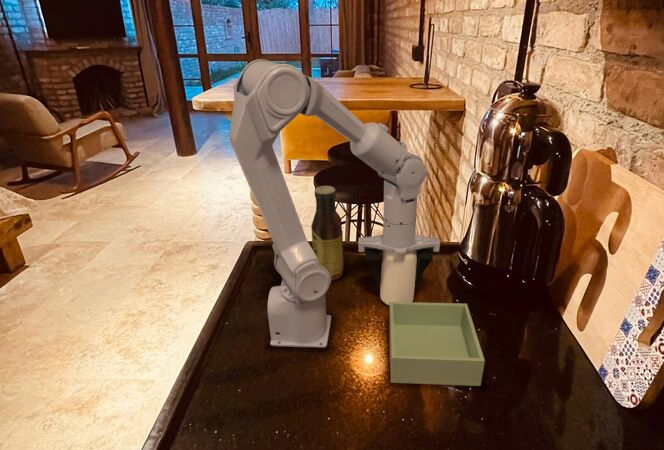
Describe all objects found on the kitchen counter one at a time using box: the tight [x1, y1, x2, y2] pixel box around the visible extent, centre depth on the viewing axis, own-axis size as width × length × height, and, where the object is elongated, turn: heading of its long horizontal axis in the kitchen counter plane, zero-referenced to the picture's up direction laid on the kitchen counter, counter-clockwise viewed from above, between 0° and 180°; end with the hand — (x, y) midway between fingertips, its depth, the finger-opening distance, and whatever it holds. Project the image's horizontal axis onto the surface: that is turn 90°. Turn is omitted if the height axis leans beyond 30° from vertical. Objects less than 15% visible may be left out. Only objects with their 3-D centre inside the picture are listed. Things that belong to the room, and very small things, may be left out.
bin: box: [388, 301, 486, 387], centre depth 65 cm, size 13×13×5 cm
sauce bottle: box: [310, 185, 344, 282], centre depth 83 cm, size 6×6×20 cm
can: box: [379, 250, 417, 307], centre depth 76 cm, size 6×6×12 cm
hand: (396, 282), depth 77 cm, fingers open, 7 cm apart
